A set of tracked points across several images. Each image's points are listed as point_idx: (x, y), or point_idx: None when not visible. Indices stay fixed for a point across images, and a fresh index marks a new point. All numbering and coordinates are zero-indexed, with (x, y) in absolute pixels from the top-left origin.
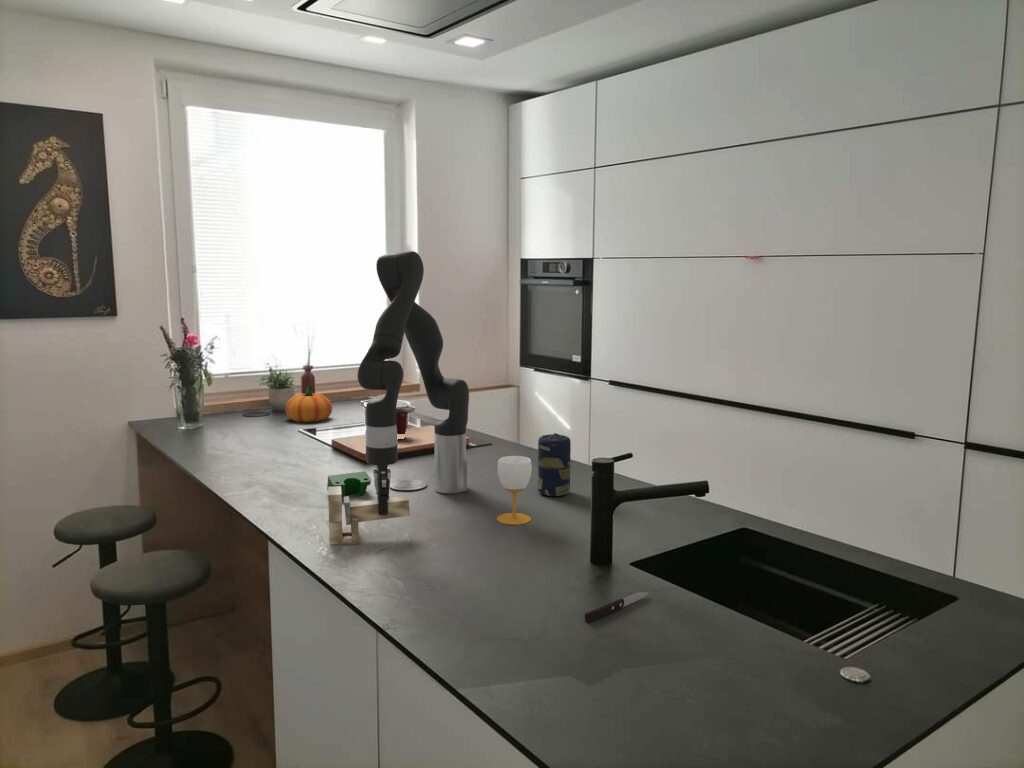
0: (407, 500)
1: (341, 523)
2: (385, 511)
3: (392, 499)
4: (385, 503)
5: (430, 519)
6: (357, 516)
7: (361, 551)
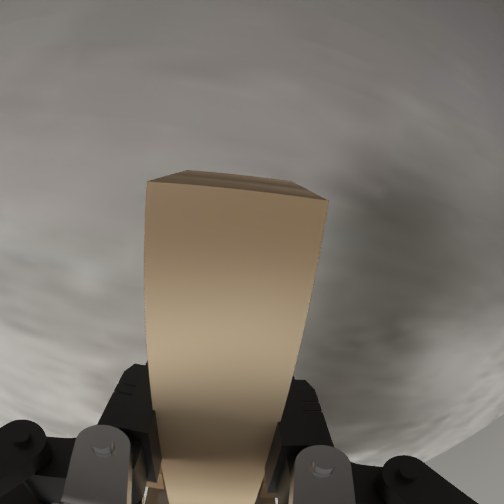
0: (323, 217)
1: (273, 501)
2: (313, 395)
3: (195, 373)
4: (329, 441)
5: (75, 49)
6: (265, 484)
7: (369, 395)
